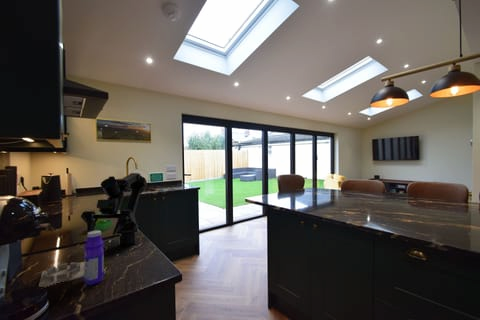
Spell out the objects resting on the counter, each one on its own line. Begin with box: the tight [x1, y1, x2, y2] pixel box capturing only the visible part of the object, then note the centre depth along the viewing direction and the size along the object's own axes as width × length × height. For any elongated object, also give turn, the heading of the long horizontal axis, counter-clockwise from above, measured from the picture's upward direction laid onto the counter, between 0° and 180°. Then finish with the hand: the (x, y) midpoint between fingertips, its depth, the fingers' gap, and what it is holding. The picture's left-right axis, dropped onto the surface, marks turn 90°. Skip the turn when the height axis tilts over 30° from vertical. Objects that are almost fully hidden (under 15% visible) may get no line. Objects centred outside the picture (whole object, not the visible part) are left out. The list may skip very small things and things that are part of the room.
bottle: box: [83, 230, 105, 286], centre depth 75 cm, size 7×6×17 cm
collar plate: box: [38, 261, 85, 288], centre depth 80 cm, size 16×13×3 cm
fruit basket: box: [93, 212, 113, 232], centre depth 132 cm, size 11×9×11 cm
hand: (100, 235), depth 82 cm, fingers open, 9 cm apart
